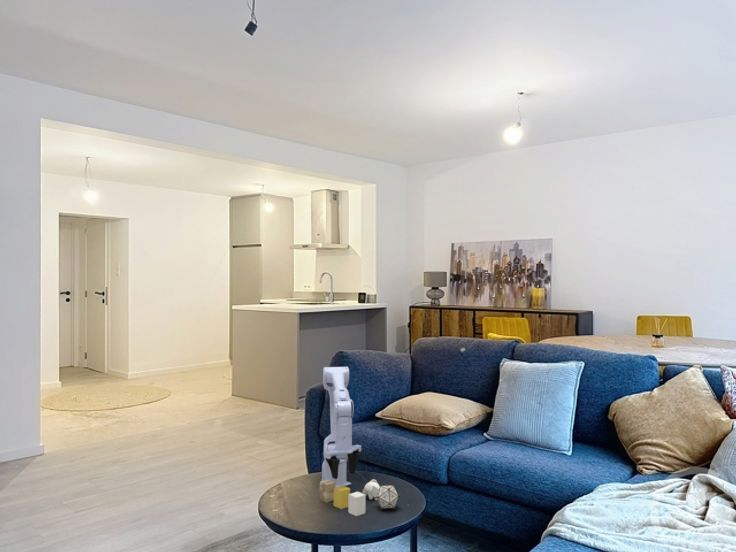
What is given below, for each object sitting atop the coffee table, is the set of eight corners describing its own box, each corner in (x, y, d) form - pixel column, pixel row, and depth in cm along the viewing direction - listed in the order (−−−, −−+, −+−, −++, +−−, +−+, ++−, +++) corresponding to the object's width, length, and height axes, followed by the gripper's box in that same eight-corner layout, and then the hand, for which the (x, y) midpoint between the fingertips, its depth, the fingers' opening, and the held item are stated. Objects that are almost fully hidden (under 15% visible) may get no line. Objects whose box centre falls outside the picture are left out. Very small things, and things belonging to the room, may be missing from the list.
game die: (390, 522, 188) (394, 504, 182) (368, 509, 191) (371, 492, 185) (402, 501, 195) (406, 483, 189) (380, 489, 197) (383, 472, 192)
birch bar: (319, 499, 198) (319, 482, 198) (328, 496, 201) (328, 479, 201) (326, 502, 195) (326, 485, 195) (335, 499, 198) (335, 482, 198)
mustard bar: (333, 505, 192) (333, 487, 192) (342, 502, 195) (342, 485, 195) (340, 509, 189) (340, 491, 189) (350, 506, 192) (350, 488, 192)
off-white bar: (348, 512, 186) (348, 494, 186) (357, 509, 189) (357, 491, 189) (356, 516, 183) (356, 497, 183) (365, 513, 186) (365, 494, 186)
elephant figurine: (364, 494, 203) (364, 477, 203) (386, 496, 201) (386, 479, 201) (359, 500, 197) (359, 483, 197) (381, 503, 194) (381, 485, 195)
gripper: (334, 441, 187) (334, 483, 186) (367, 434, 196) (366, 474, 196) (321, 437, 192) (321, 478, 192) (353, 431, 202) (353, 469, 201)
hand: (343, 475), depth 194 cm, fingers open, 7 cm apart
